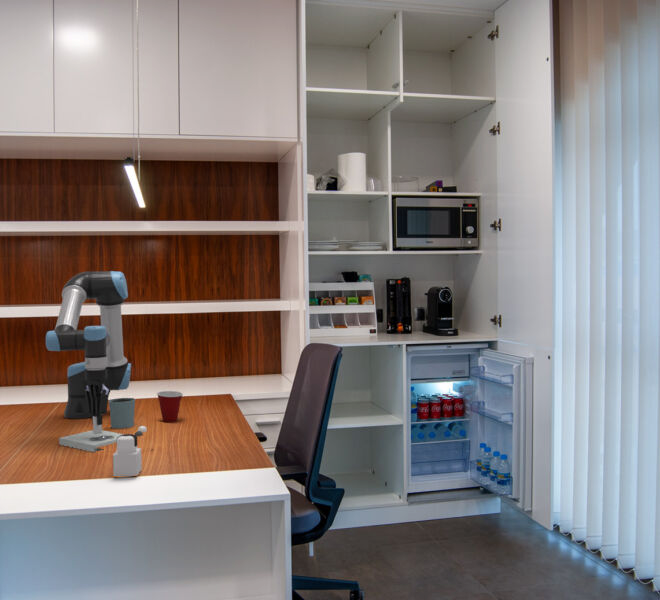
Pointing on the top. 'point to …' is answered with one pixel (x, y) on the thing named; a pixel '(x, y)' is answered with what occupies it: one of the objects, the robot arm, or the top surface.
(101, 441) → the board
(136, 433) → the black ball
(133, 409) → the grey cup
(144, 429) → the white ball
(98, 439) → the steel ball
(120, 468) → the medicine bottle
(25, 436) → the top surface
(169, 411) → the plastic cup
